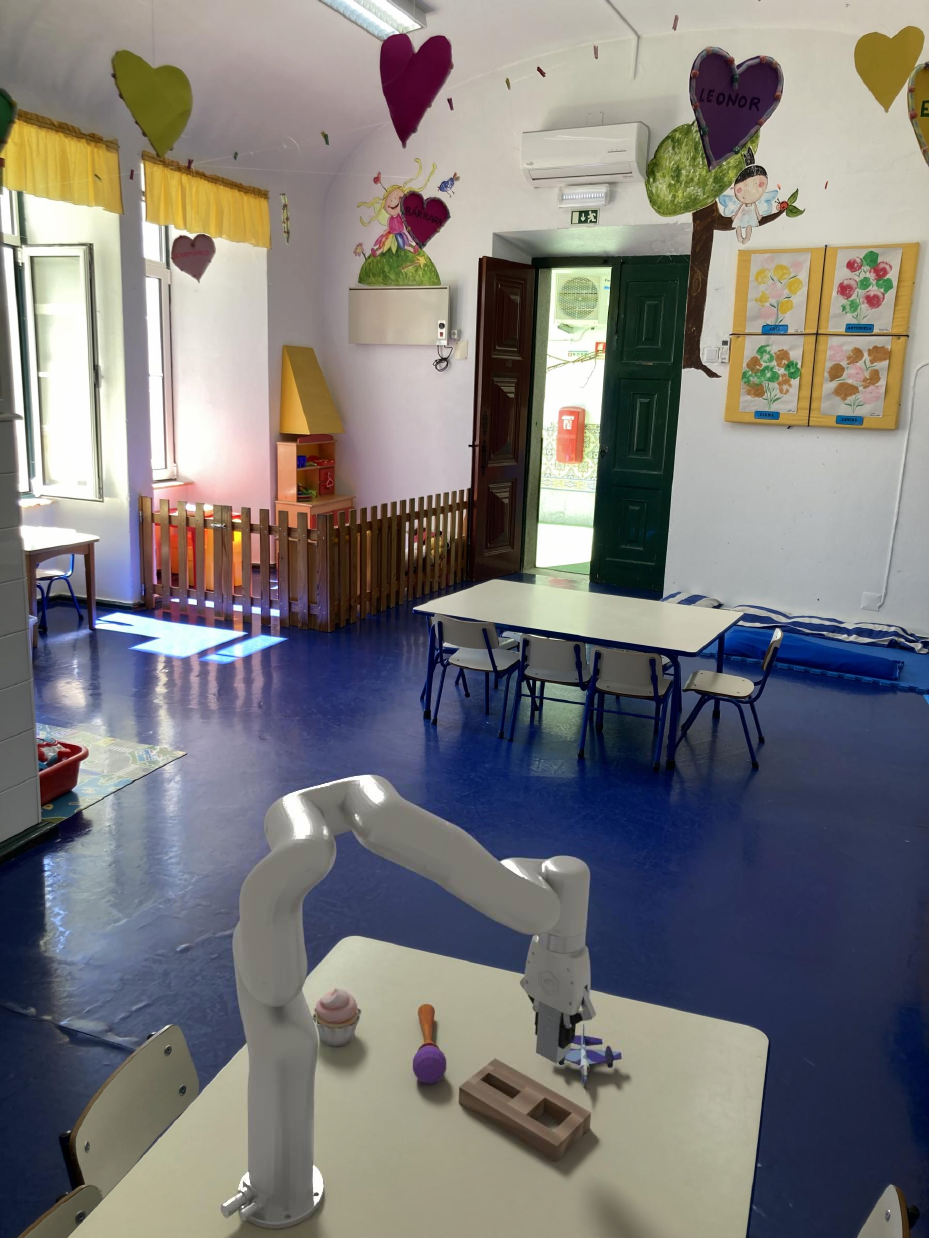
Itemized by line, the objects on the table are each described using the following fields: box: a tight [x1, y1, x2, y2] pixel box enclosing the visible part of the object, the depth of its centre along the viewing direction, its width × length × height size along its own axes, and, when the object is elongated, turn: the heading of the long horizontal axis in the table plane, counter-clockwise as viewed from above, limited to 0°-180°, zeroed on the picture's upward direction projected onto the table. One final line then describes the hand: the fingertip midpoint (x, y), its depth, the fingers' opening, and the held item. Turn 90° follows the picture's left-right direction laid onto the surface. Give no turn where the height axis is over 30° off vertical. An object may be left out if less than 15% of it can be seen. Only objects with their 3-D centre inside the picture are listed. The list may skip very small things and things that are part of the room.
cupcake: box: [311, 987, 363, 1047], centre depth 180 cm, size 9×9×10 cm
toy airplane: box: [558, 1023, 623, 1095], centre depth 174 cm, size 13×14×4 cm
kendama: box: [412, 1003, 447, 1084], centre depth 177 cm, size 6×6×20 cm
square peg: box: [535, 1001, 572, 1065], centre depth 155 cm, size 4×4×10 cm
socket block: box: [458, 1057, 592, 1163], centre depth 162 cm, size 10×20×3 cm, turn 51°
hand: (554, 1036), depth 156 cm, fingers closed on square peg, 4 cm apart
